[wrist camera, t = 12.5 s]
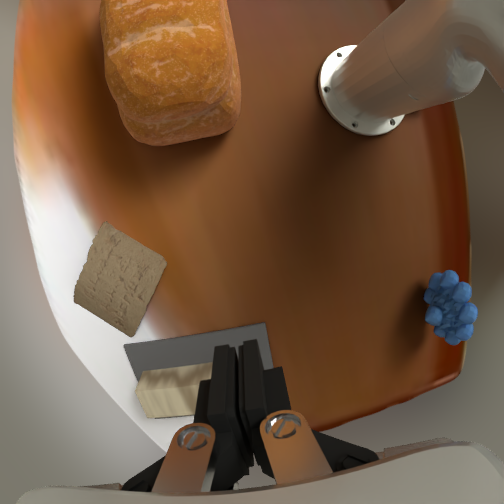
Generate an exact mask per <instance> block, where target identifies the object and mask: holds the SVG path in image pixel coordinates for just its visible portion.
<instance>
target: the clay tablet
mask: <svg viewBox="0 0 504 504" xmlns="http://www.w3.org/2000/svg"><path fill="white" fill-rule="evenodd" d="M166 265H167V262H166V261H165V260H164V257H163V256H161V255H160V254H158V253H156V252H154V251H152V250H151V249H149V248H147V247H145V246H143V245H142V244H141V243H139V242H137V241H136V240H134V239H132V238H130V237H129V236H127V235H126V234H124V233H122V232H121V231H119V230H116V229H115V228H114V227H113V226H112V225H110V224H109V223H108V222H107V221H106V222H104V223H103V224H102V226H101V228H100V230H99V231H98V235H96V236H95V238H94V239H93V244H92V246H91V247H90V249H89V252H88V258H87V262H86V264H84V266H83V270H82V272H81V273H80V275H79V280H77V284H76V285H75V291H74V293H75V295H74V302H75V303H76V304H79V305H80V306H82V307H83V308H85V309H87V310H88V311H90V312H91V313H93V314H94V315H96V316H98V317H99V318H101V319H102V320H104V321H105V322H107V323H109V324H110V325H112V326H113V327H115V328H117V329H118V330H120V331H121V332H123V333H125V334H126V335H128V336H129V337H132V336H134V335H135V332H136V330H137V327H138V326H139V324H140V320H141V319H142V318H143V316H144V314H145V311H146V305H147V304H148V303H149V301H150V299H151V296H152V295H153V294H154V291H155V287H156V286H157V284H158V282H159V280H160V277H161V275H162V273H163V271H164V268H165V267H166Z"/></svg>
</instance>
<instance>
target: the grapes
mask: <svg viewBox="0 0 504 504" xmlns="http://www.w3.org/2000/svg"><path fill="white" fill-rule="evenodd" d="M458 281H459V277H458V275H457V274H456V273H455V272H454V271H452V270H447V271H445V272H444V273H443V274H441V273H434V274H433V275H432V276H431V278H430V280H429V287H428V288H427V289H426V291H425V293H424V300H425V301H426V302H427V303H428V304H430V306H429V307H428V309H427V312H426V315H425V321H426V322H427V323H429V324H430V325H433V326H435V327H434V333H435V334H436V335H437V336H439V337H445V341H446V342H447V343H449V344H451V345H457V344H458V343H460V341H461V340H462V341H466V340H468V339H469V338H471V336H472V334H473V330H474V327H473V324H472V323H473V322H474V321H475V320H476V318H477V315H478V310H477V307H476V306H475V305H474V304H472V303H470V302H469V303H466V302H468V301H469V299H470V297H471V294H472V289H471V287H470V285H469V284H467V283H465V282H459V283H458Z"/></svg>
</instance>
